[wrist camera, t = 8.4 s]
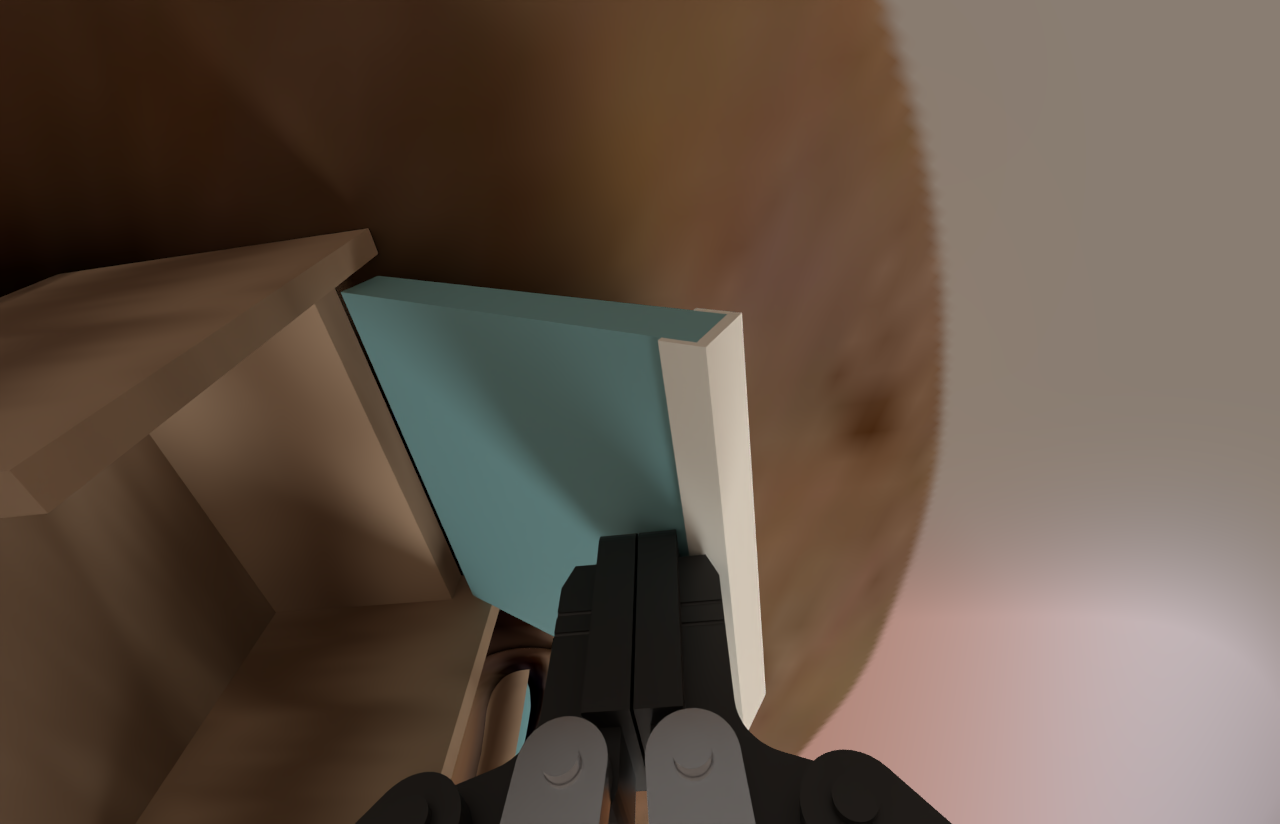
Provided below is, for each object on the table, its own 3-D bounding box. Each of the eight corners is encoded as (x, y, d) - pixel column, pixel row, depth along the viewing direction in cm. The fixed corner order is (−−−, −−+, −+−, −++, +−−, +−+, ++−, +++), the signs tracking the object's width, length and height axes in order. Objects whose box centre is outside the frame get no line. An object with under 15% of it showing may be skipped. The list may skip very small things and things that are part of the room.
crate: (283, 601, 21) (69, 923, 13) (58, 274, 15) (-586, 534, 7) (506, 584, 20) (411, 918, 13) (368, 228, 14) (9, 469, 6)
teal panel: (470, 597, 19) (744, 737, 14) (337, 293, 13) (705, 347, 8) (497, 570, 19) (765, 694, 15) (381, 273, 14) (741, 312, 9)
